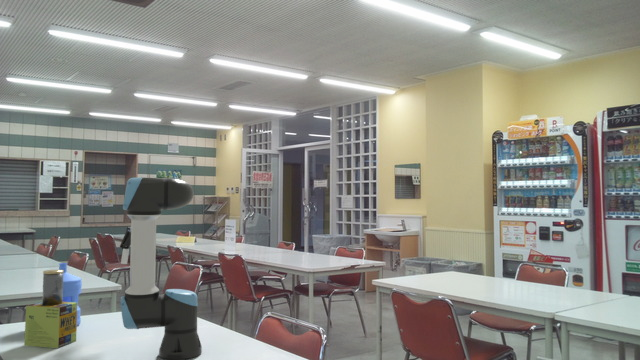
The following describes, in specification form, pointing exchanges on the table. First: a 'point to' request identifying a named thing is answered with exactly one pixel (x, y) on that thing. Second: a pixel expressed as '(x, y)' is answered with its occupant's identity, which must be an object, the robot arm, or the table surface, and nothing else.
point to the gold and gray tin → (52, 287)
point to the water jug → (71, 288)
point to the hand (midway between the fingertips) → (133, 263)
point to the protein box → (50, 325)
